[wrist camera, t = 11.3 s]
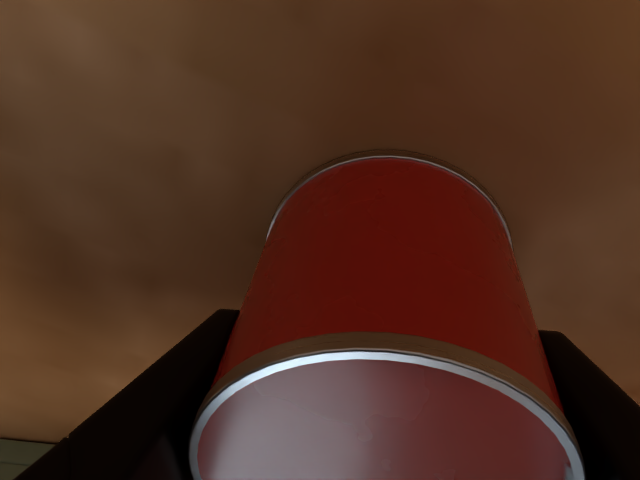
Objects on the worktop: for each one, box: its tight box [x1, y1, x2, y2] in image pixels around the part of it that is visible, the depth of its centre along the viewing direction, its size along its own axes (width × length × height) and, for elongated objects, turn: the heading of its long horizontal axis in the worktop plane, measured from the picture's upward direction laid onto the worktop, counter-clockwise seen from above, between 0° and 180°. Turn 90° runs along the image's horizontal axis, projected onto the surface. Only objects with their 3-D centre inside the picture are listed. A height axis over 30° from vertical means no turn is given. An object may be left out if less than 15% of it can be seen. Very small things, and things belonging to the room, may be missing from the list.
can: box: [188, 150, 587, 480], centre depth 9 cm, size 5×5×5 cm
